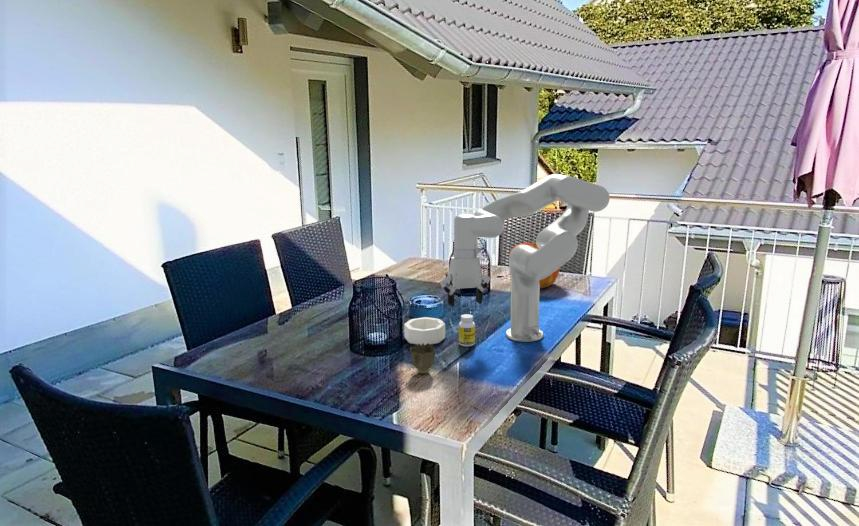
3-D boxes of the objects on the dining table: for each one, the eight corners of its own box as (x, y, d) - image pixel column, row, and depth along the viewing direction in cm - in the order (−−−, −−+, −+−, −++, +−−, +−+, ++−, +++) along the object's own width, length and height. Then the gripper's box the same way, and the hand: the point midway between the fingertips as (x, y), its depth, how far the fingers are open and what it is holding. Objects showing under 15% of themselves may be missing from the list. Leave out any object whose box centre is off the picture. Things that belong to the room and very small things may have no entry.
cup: (407, 370, 177) (406, 345, 175) (429, 365, 180) (429, 341, 178) (416, 379, 171) (415, 354, 169) (439, 375, 173) (439, 349, 172)
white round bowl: (449, 341, 199) (449, 327, 198) (412, 346, 195) (412, 332, 194) (436, 328, 211) (435, 315, 210) (401, 334, 207) (400, 320, 206)
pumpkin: (502, 290, 256) (502, 245, 252) (515, 277, 277) (515, 235, 272) (555, 294, 248) (556, 248, 243) (564, 281, 268) (566, 237, 263)
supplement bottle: (463, 348, 193) (463, 319, 191) (456, 342, 198) (455, 314, 196) (478, 345, 195) (477, 317, 193) (470, 339, 200) (470, 312, 198)
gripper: (485, 248, 196) (484, 298, 200) (436, 252, 190) (436, 303, 194) (495, 253, 189) (494, 304, 193) (444, 257, 183) (444, 310, 187)
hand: (465, 304), depth 193 cm, fingers open, 9 cm apart
